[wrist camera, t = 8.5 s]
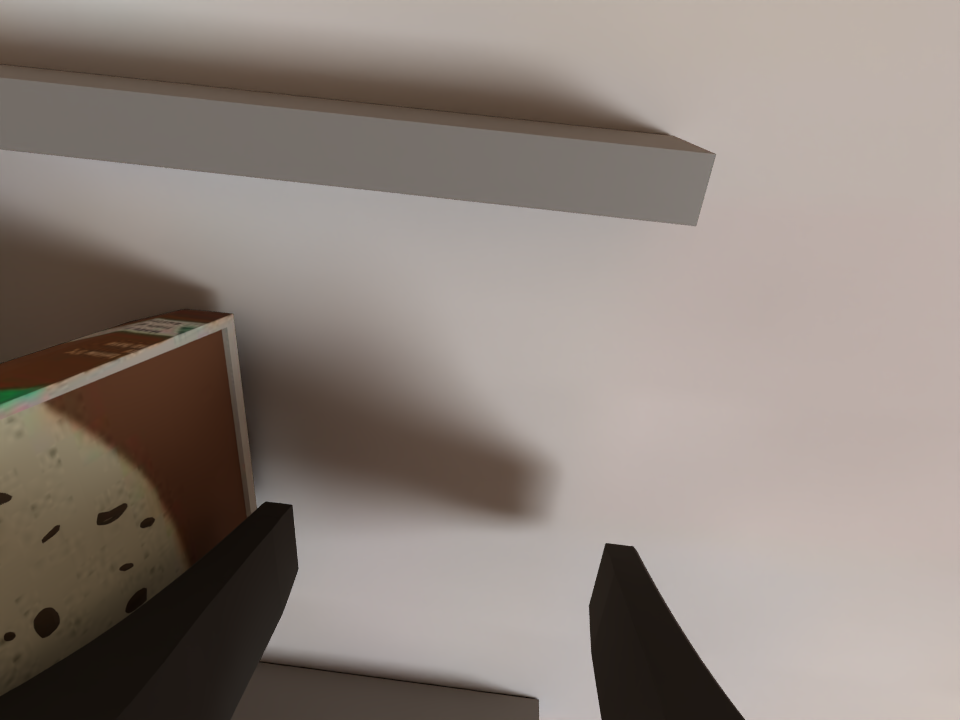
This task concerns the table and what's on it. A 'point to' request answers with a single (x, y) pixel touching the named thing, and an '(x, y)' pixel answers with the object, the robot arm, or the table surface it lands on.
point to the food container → (114, 477)
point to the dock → (370, 166)
